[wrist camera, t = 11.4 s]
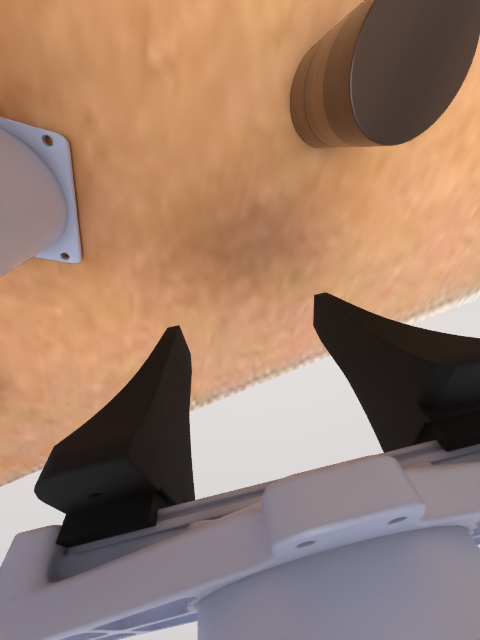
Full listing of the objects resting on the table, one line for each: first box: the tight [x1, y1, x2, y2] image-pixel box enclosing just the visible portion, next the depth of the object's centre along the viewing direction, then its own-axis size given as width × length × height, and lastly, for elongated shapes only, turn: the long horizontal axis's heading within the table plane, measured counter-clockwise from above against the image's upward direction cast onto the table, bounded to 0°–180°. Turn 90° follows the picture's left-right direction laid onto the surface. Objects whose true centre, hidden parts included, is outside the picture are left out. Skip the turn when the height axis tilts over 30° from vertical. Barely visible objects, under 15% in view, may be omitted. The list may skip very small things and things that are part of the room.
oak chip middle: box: [304, 7, 357, 147], centre depth 12 cm, size 5×5×2 cm
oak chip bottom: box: [290, 32, 335, 148], centre depth 14 cm, size 5×5×2 cm
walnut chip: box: [323, 0, 480, 147], centre depth 10 cm, size 5×5×2 cm
